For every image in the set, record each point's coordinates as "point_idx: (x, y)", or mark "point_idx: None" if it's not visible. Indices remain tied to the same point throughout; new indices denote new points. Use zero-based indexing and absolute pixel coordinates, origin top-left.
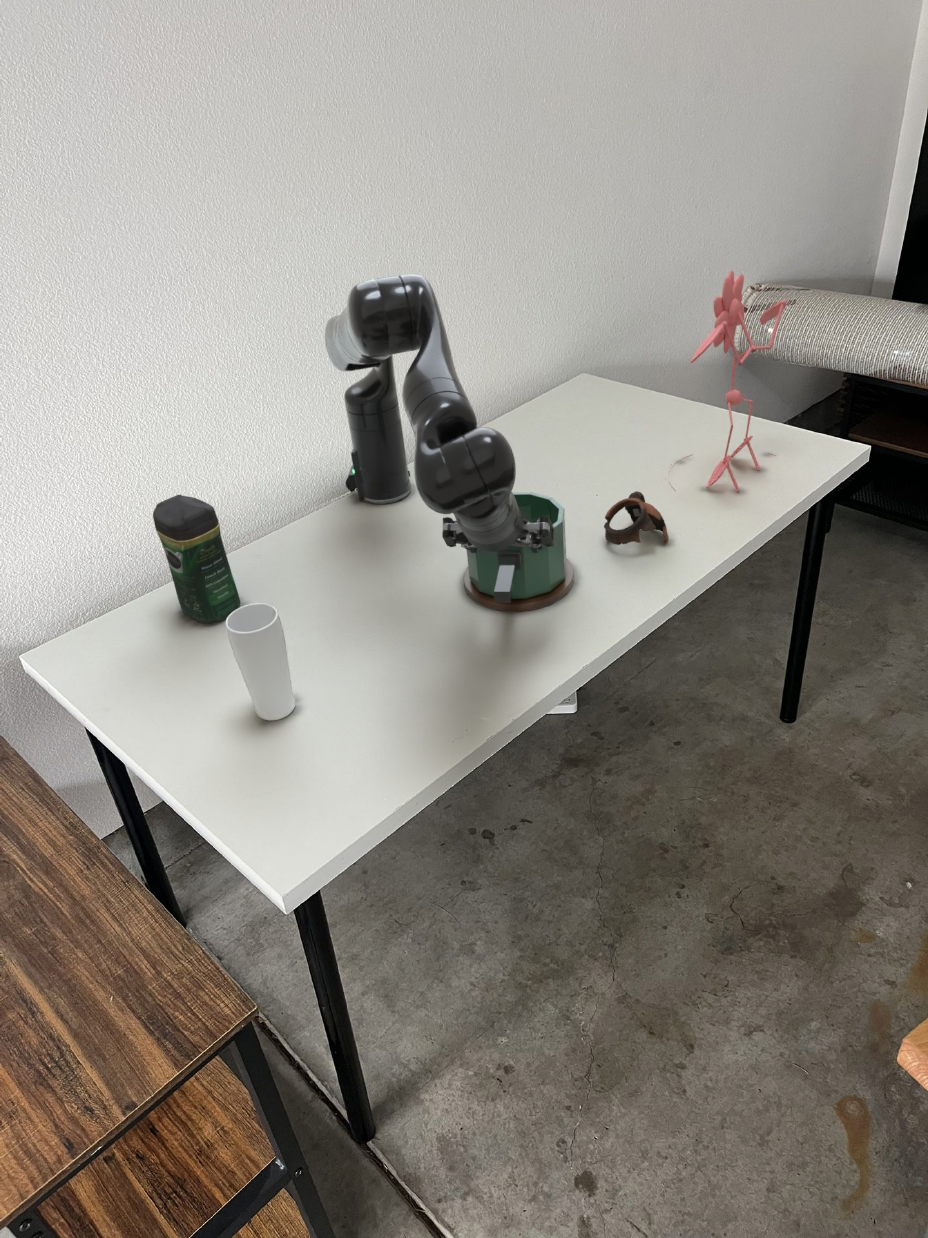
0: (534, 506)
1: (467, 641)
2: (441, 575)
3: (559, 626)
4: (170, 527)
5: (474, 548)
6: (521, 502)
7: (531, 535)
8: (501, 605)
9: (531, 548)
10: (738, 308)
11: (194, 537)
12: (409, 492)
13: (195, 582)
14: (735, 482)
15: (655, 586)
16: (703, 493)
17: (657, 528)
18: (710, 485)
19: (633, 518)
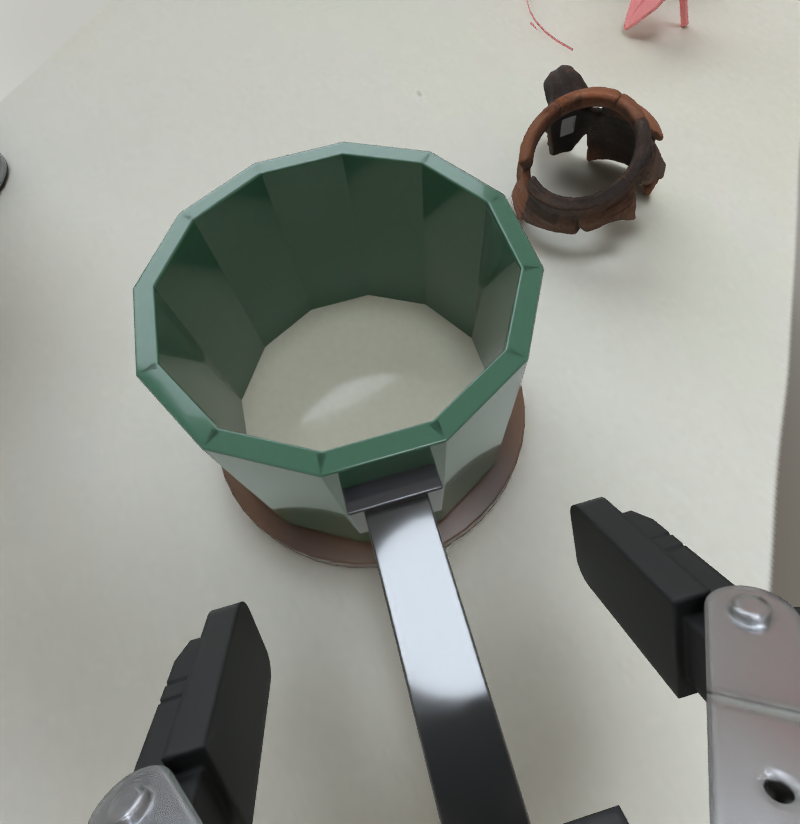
0: (364, 193)
1: (329, 772)
2: (154, 450)
3: (574, 592)
4: None
5: (258, 731)
6: (317, 189)
7: (680, 630)
8: (376, 563)
9: (654, 665)
10: None
11: None
12: (4, 176)
13: None
14: (686, 4)
15: (718, 342)
16: (623, 44)
17: (608, 156)
18: (638, 21)
19: (555, 142)
